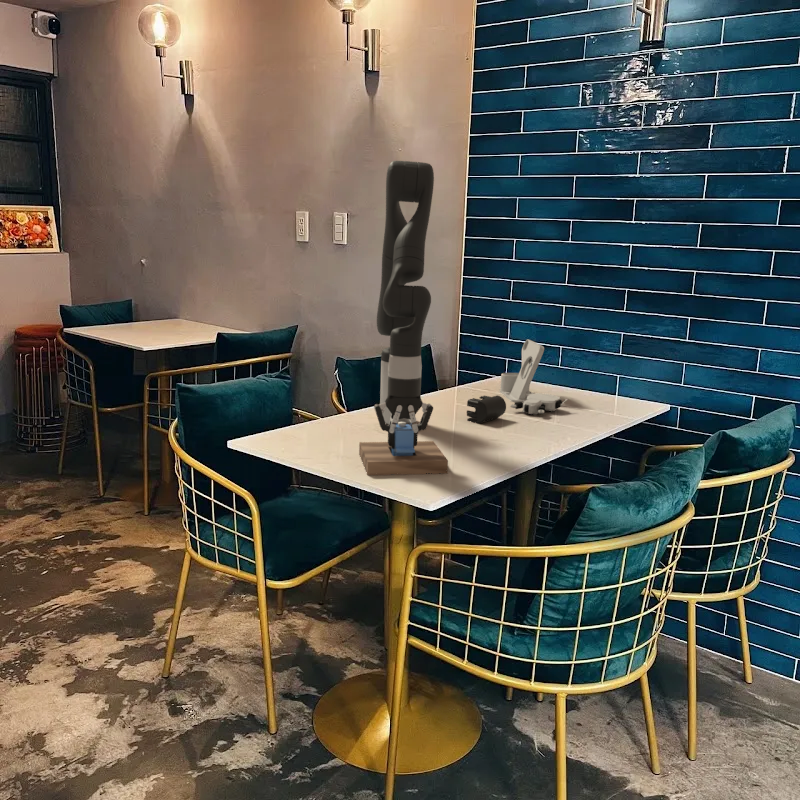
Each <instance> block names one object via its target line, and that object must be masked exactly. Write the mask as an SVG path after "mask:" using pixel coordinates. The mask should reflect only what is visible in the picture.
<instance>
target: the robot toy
mask: <svg viewBox="0 0 800 800" xmlns="http://www.w3.org/2000/svg"><path fill="white" fill-rule="evenodd" d="M567 401H568V398H566V399H565V400H564V401H562V398H561V397H560V396H557V395H555V394H549V393H542V392H535V393H534V392H532V393H531V394H530V395H529V396H527V397H526V401H524V402H514V404H513V403H512V404H510V406H509V407H510V408H512V409H515V410H519V409H522V413H525V414H527V413H528V414H529V415H532V414H533V416H534V415H538V414H541V415H544V414H545V412H546V411H547V412H549V411H551V412H552V411H553V412H554V411H556V410H557V409H559V408H562V406H563V405H564V404H565V403H566V402H567ZM551 412H550V413H551Z"/></svg>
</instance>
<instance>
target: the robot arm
mask: <svg viewBox="0 0 800 800" xmlns="http://www.w3.org/2000/svg"><path fill="white" fill-rule="evenodd" d="M434 173H435V172H434V168H433V165H431V164H430V163H428V162H423V161H422V162H419V161H409V160H408V161H407V160H393V161H391V162H390V163H389V165H388V167H387V172H386V179H385V226H384V235H383V241H382V243H383V244H382V253H381V254H382V255H381V256H382V257H381V278H380V279H381V281H380V282H381V283H380V289H379V290H380V293H379V299H378V307H377V313H376V328H377V332H378V333H379V335H381V336H386V337H389V339H390V340H389V346H388V347H386V348H383V349H382V351H381V352H380V353H381V355H380V360H381V361H380V391H379V394H380V395H379V396H380V397H379V398H380V400H379V404H378V403H376V404H374V405H373V408H374V411H375V414H376V416H377V421H378V423H379V427H380V429H381V430H382V431H385V432H387V442H388V445H389V446H390V447H391V449H394V447H395V433H394V431H395V428H396V425H397V424H398V422H406V424H409V425H410V426H411V428H412V429H413V430H414V441H413V448H414V446H416V445H417V441H418V434H419V432H421V431H425V430H426V429H427V427H428V425H429V421H430V420H431V419H430V418H431V416H432V413H433V410H434V406H433V405H432V404H431V403H426V402H423V400H422V397H421V395H422V393H421V392H422V389H421V388H422V369H423V368H422V367H423V365H422V339H423V338H422V336H423V331H424V326H425V323H426V320H427V317H428V313H429V311H430V308H431V304H432V295H431V292H430V291H429V289H428V288H427V287H426V286H423V285H408V284H409V283H414V282H417V281H420V280H421V279H422V278H423V276H424V272H425V252H426V250H425V249H426V239H427V238H426V237H427V232H428V227H429V222H430V217H431V216H430V215H431V208H432V203H433V193H434V186H435V185H434V182H435V177H434ZM400 202H403V203H417V207H416V210H415V212H414V214H413V215H412V217H411V218H410V220H409V221H408V222H407V220H406V218H405V215H404V214H403V211H402V209H401V205H400ZM406 284H407V285H406ZM420 409H421V411H422V416H421V419H420V421H419V423H418V421H417V418H416V414H417V413H418V412H419V411H420ZM417 423H418V424H417Z"/></svg>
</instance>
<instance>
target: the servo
mask: <svg viewBox="0 0 800 800" xmlns="http://www.w3.org/2000/svg"><path fill="white" fill-rule="evenodd" d="M394 433H395V447H394V449H392V452H391V453H392V455H393V456H413V453H415V449H414V448H413V441H414V430H413V429H412V428H411V425H410V423H408V424H406V422H398V424H397V425H396V428H395V431H394Z"/></svg>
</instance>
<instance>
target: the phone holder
mask: <svg viewBox="0 0 800 800" xmlns="http://www.w3.org/2000/svg"><path fill="white" fill-rule="evenodd" d="M544 351H545V347H544V346H543V345H541V344H540V343H537V342H536V341H533V340H531V339H526V340H525V341H524V342H523V345H522V348H521V368H520V370H519V372H503V373H501V375H500V389H498V390H499V391H498V392H499V393H500V394H501V395H503V396H504V397H505V398H506V399H507V400H508V401H510V402H511V403H516V402H522V403H524V401H526V397H527V396H529V395H530V394H531V393H533V392H532V391H530V385H531V383H532V381H533V378H534V376H535V374H536V371H537V368H538V367H539V364H540V362H541V359H542V357H543V354H544Z"/></svg>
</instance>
